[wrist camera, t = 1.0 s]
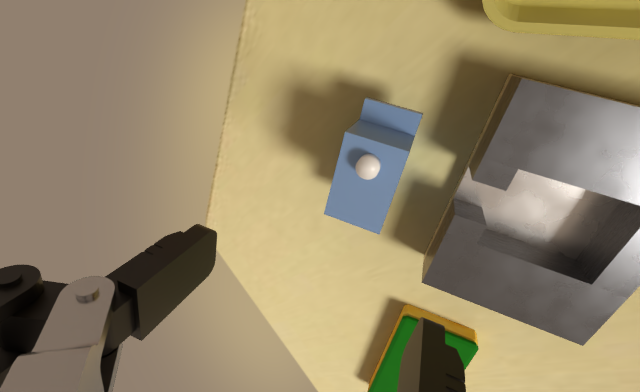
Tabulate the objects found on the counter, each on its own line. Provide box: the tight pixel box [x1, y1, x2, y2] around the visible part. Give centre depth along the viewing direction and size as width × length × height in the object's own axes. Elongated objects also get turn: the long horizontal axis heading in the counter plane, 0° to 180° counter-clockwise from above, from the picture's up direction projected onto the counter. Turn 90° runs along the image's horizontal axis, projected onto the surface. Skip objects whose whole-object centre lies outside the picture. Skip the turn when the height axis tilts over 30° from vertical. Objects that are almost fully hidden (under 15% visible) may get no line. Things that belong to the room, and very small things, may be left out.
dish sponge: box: [368, 304, 478, 392], centre depth 34 cm, size 7×14×2 cm, turn 168°
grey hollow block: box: [422, 74, 640, 346], centre depth 22 cm, size 16×12×4 cm
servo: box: [324, 97, 423, 234], centre depth 23 cm, size 4×9×8 cm, turn 167°
